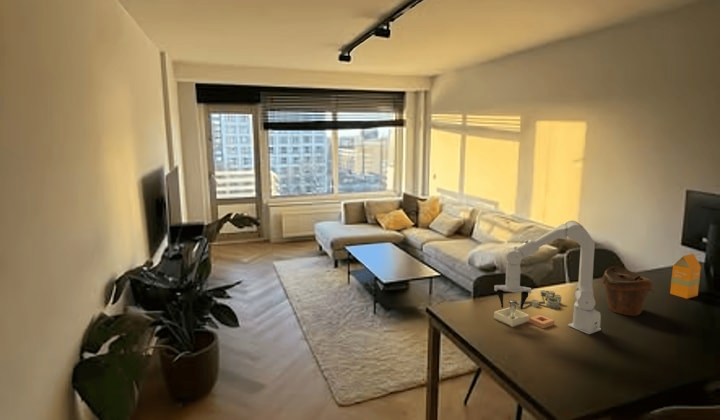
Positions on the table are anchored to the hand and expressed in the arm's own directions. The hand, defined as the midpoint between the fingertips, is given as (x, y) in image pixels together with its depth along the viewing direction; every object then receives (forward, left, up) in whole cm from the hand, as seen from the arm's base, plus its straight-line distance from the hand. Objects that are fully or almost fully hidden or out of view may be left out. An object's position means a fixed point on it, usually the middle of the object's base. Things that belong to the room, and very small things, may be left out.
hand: (511, 307), depth 181 cm
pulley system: (+5, -27, -6) cm, 28 cm away
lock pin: (0, 0, -5) cm, 5 cm away
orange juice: (-23, -93, -6) cm, 96 cm away
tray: (0, 0, -6) cm, 6 cm away
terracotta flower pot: (-19, -51, -6) cm, 55 cm away
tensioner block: (-9, -8, -6) cm, 13 cm away
